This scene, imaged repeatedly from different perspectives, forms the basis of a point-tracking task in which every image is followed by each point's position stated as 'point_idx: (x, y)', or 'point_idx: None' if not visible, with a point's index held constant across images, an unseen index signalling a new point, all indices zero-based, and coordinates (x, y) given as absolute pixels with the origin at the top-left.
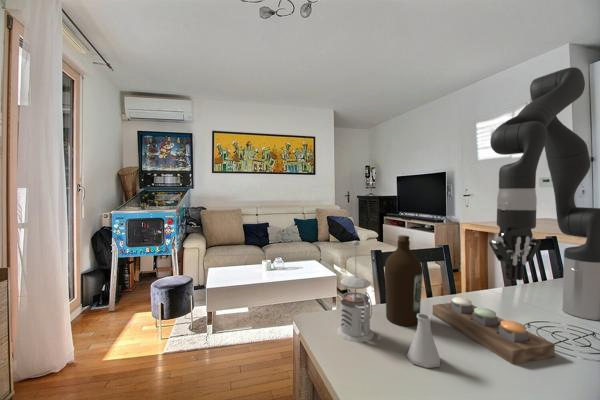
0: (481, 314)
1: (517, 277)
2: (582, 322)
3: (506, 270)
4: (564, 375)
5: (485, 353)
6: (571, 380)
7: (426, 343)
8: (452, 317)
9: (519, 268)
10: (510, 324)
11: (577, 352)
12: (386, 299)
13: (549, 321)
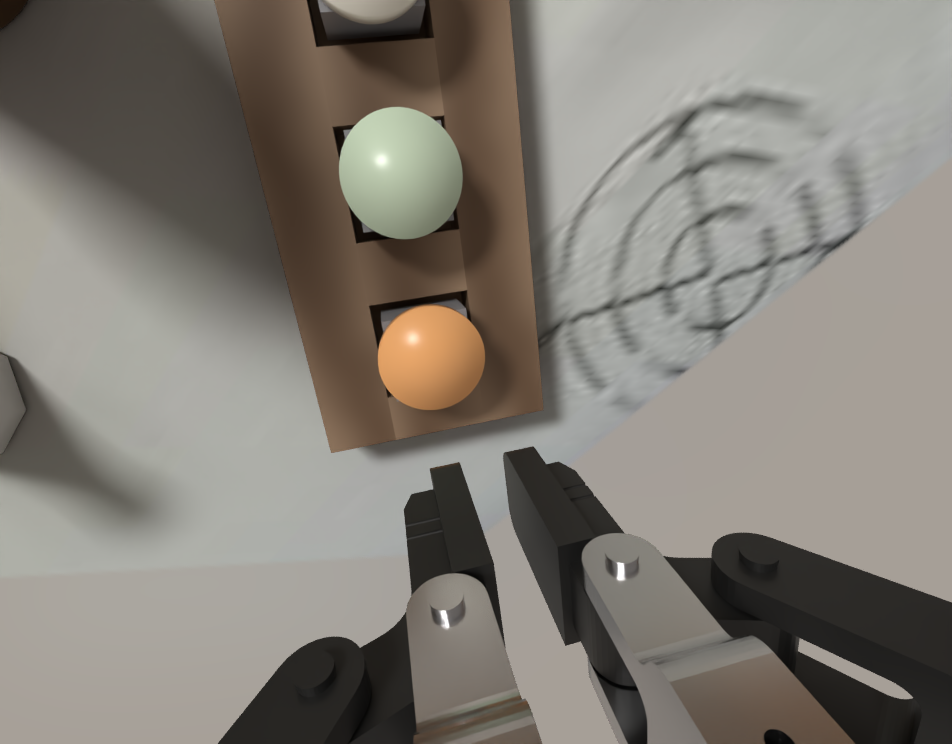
0: (353, 211)
1: (514, 505)
2: (919, 143)
3: (410, 551)
4: None
5: (276, 360)
6: None
7: None
8: (235, 76)
9: (549, 591)
10: (424, 352)
11: (636, 365)
12: None
13: (804, 110)
